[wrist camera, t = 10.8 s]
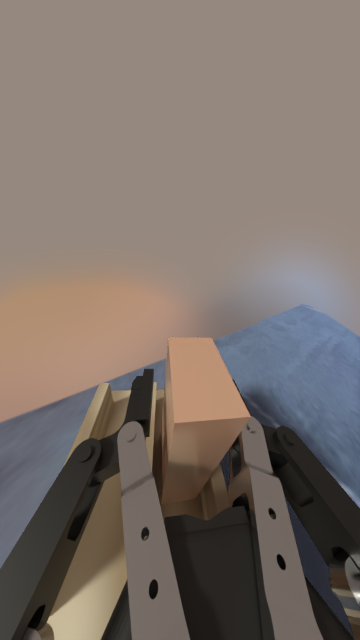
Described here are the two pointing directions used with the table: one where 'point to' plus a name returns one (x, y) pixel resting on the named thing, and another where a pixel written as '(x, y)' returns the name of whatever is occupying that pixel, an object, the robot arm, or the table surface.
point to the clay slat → (196, 417)
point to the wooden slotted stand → (116, 524)
